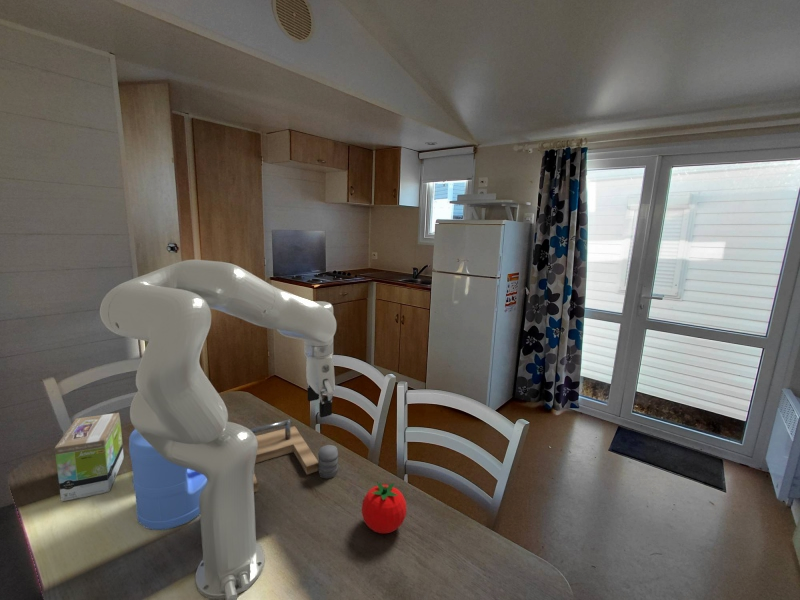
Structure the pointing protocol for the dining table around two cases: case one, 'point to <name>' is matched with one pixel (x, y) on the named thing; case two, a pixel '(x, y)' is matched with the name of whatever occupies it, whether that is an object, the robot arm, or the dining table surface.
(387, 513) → the tomato
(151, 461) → the water jug
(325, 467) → the coil
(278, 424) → the metal bar handle
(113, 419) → the tea box
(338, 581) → the dining table surface
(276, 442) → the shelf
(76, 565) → the dining table surface
